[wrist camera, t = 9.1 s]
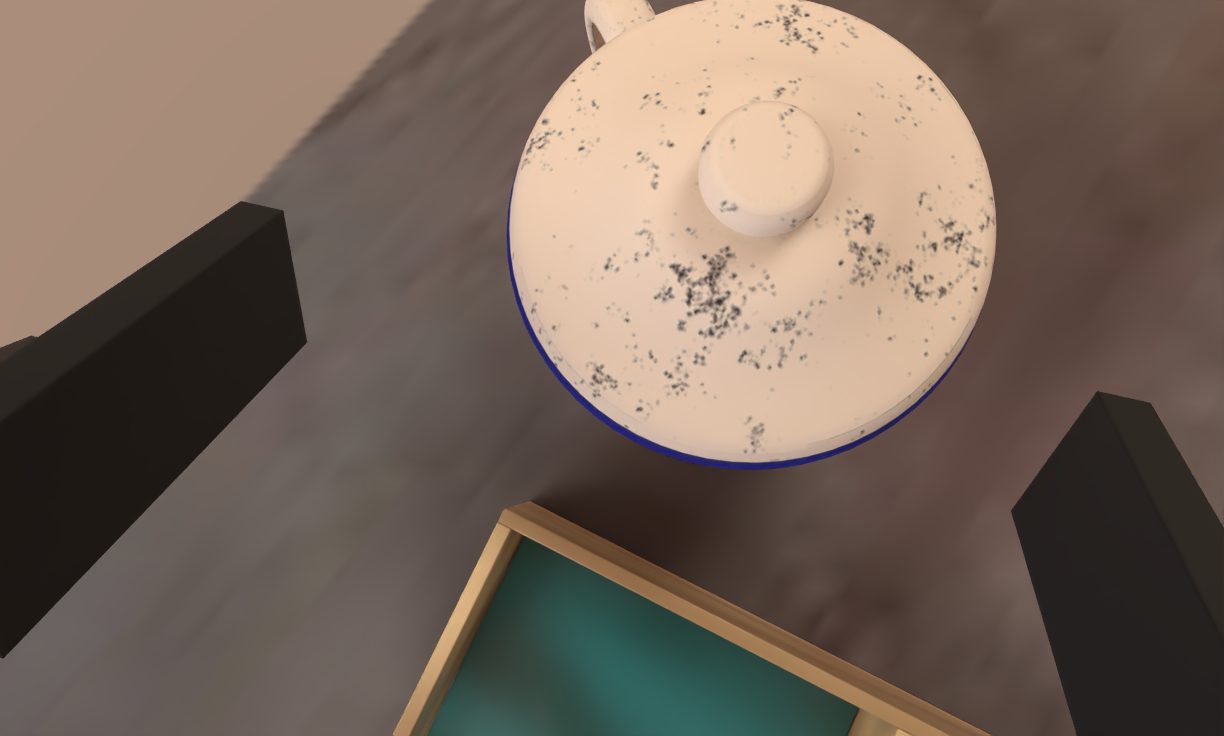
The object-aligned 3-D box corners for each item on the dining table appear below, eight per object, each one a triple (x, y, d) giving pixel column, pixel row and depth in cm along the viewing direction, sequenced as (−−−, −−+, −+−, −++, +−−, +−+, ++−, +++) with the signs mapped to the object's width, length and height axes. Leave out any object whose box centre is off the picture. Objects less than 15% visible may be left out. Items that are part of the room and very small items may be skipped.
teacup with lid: (917, 392, 21) (1222, 310, 10) (635, 514, 21) (606, 578, 10) (746, 50, 23) (832, -364, 11) (486, 164, 23) (312, -131, 12)
